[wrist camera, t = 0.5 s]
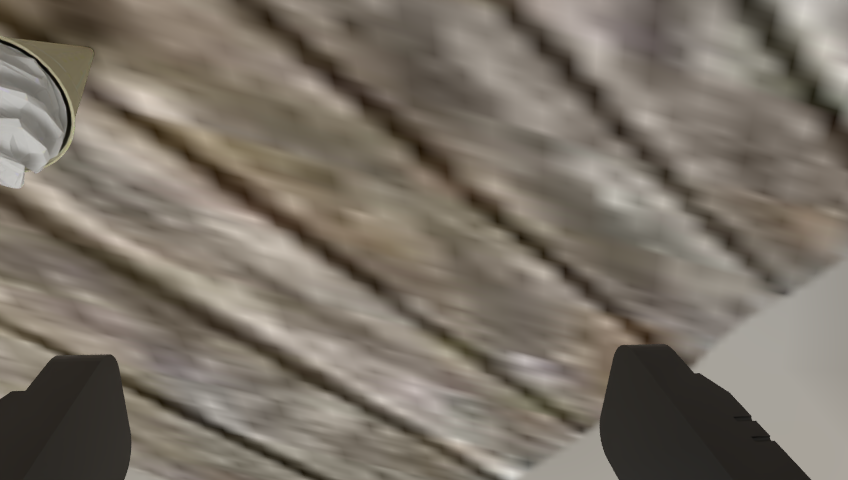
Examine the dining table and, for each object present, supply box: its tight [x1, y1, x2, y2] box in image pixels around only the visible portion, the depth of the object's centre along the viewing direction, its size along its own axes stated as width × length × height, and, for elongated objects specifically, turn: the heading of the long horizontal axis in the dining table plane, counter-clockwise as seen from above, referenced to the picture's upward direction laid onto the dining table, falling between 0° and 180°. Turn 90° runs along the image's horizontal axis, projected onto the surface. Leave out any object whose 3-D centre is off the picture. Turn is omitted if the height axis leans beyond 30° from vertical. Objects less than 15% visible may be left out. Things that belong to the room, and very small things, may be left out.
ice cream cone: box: [0, 36, 94, 188], centre depth 21 cm, size 5×5×15 cm
